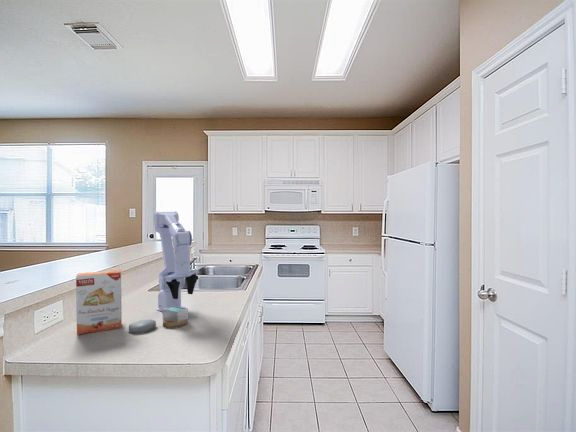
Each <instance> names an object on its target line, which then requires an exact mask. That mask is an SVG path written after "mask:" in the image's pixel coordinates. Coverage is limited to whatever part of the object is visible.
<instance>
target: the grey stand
mask: <svg viewBox="0 0 576 432" xmlns="http://www.w3.org/2000/svg"><path fill="white" fill-rule="evenodd" d="M156 322H157V321H156V320H154V319H142V320H141V319H140V320H137V321H133V322H131V323H130V324H129V325H128V332H129V333H130V334H145V333H148V332H151V331H154V330H155V329H156V328H157V323H156Z"/></svg>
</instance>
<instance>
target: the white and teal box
mask: <svg viewBox="0 0 576 432" xmlns="http://www.w3.org/2000/svg"><path fill="white" fill-rule="evenodd" d="M171 307H175V308H181V309H183V310H180V311H173V310H168V308H171ZM184 307H185V306H183V307H178V306H170V307H167V308H164V309H162V311H161V312H162V321H163V320H167V321H172V322H177V323H178V322H181V321H183V320H186V319H188V320H189V315H188V314H189V313H188V312H189V311H188V309H189V308H188V307H186V308H184Z"/></svg>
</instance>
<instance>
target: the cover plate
mask: <svg viewBox="0 0 576 432" xmlns="http://www.w3.org/2000/svg"><path fill="white" fill-rule="evenodd" d="M168 310H173V311H180V310H183V309H181V308H175V307H171V308H168Z"/></svg>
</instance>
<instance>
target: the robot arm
mask: <svg viewBox="0 0 576 432" xmlns="http://www.w3.org/2000/svg"><path fill="white" fill-rule="evenodd" d="M179 216H180V215H179V213H178V212H177V211H155V212H154V214H153V226H154V230H155V232H156V233H158V234H159V237H160V243H161V250H162V258H163V265H164V268H163V269H162V270H160V272H159V273H158V285H159V289H160V290H159V292H158V294H157V305H158V306H157V308H156V311H159V312H162V309H164V308H167V307H170V306H178V307H184V308H187V307H186V306H182V291H181V290H182V289H183V288H184V286H185V284H186V287H187V288H186V289H187V290H186V292H187V294H188V295H193V293H194V290H195V286H196V283H197V281H198V280H199V270H198V269H191V249H190V248H191V246H192V243H193V236H192V232H191V231H190V230H186V229H185V227H184V226H183V225H182V223H180V222H179V220H180V217H179Z"/></svg>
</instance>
